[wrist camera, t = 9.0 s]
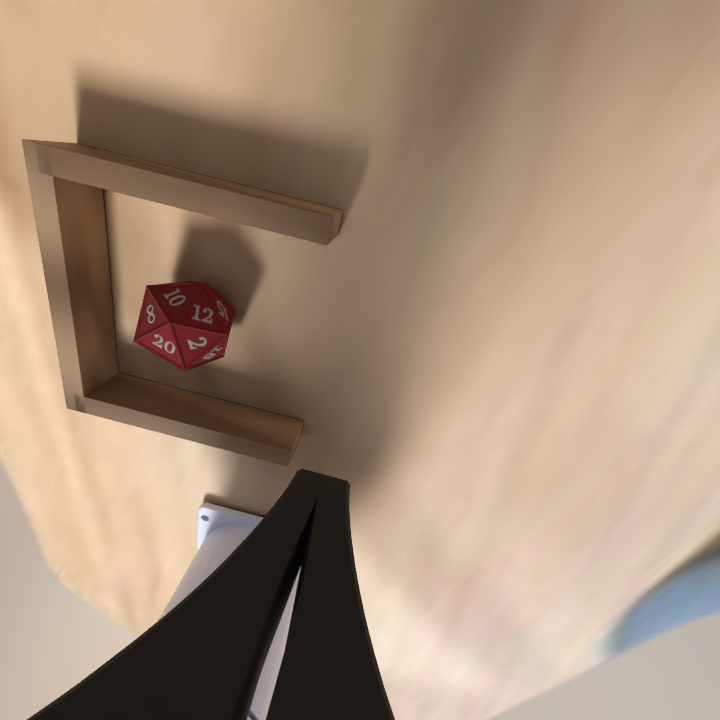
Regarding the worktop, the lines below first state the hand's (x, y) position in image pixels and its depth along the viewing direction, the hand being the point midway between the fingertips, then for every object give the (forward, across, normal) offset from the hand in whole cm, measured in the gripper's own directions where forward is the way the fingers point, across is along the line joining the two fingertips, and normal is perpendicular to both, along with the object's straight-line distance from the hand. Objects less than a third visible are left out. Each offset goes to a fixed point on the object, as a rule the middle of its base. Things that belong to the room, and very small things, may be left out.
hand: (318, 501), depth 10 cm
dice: (+10, +8, 0) cm, 12 cm away
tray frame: (+9, +8, 0) cm, 12 cm away
